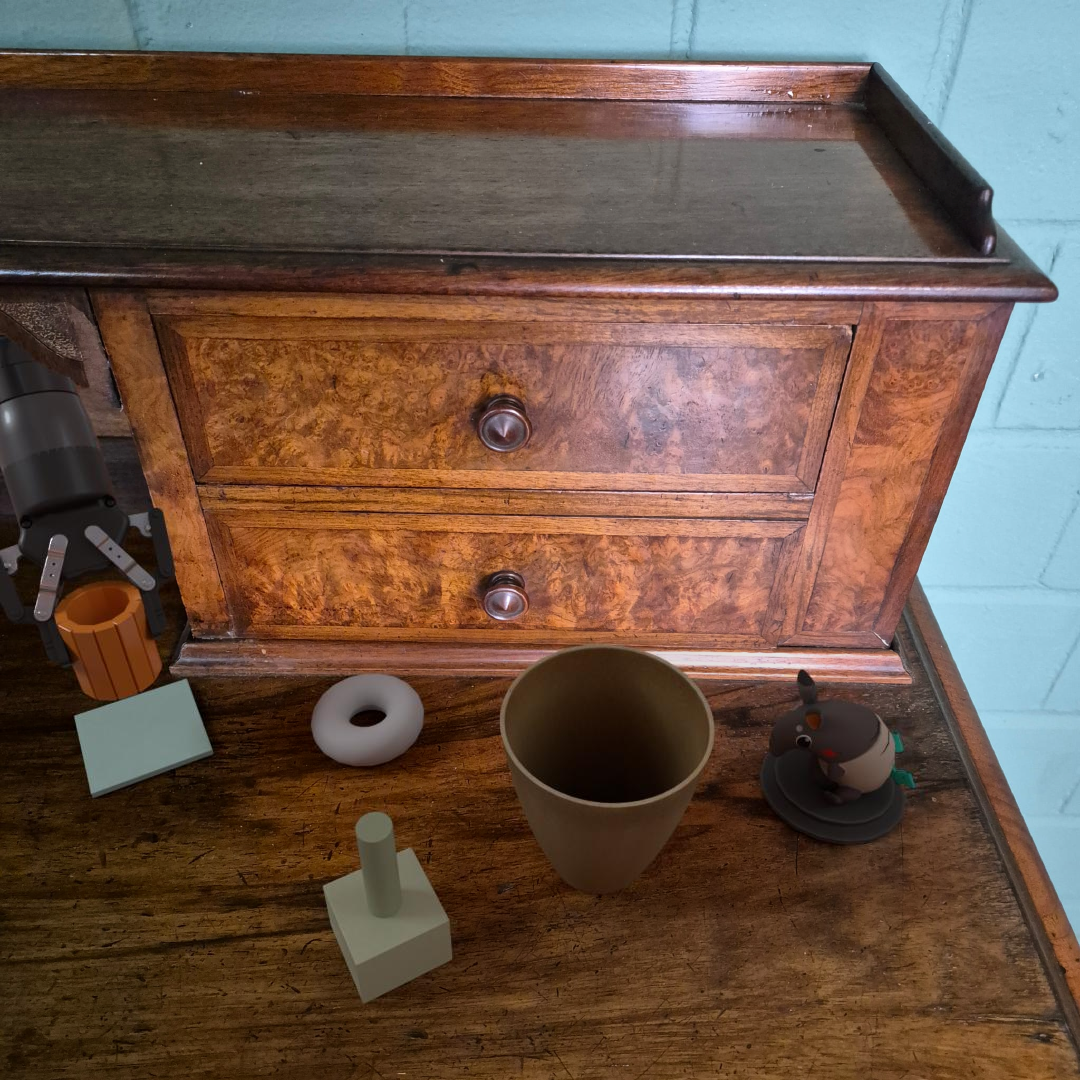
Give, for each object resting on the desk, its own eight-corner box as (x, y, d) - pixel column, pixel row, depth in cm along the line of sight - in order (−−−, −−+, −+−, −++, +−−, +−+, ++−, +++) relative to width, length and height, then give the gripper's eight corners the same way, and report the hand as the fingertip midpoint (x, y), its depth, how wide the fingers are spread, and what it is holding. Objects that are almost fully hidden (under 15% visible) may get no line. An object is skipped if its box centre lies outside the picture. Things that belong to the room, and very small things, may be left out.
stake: (363, 1004, 66) (341, 890, 58) (330, 925, 70) (306, 809, 62) (452, 959, 68) (443, 844, 60) (415, 886, 73) (402, 770, 65)
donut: (291, 734, 85) (361, 794, 80) (285, 707, 83) (356, 766, 78) (377, 677, 91) (448, 728, 86) (373, 650, 89) (446, 701, 84)
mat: (93, 798, 79) (91, 793, 79) (75, 720, 86) (74, 715, 86) (213, 754, 83) (212, 749, 83) (188, 682, 90) (186, 678, 90)
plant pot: (496, 788, 81) (493, 649, 71) (668, 775, 82) (687, 638, 72) (509, 952, 69) (507, 812, 59) (710, 935, 70) (740, 795, 61)
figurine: (918, 851, 76) (958, 752, 69) (767, 842, 77) (792, 743, 70) (885, 743, 85) (917, 647, 78) (751, 736, 86) (771, 639, 79)
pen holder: (87, 710, 77) (60, 642, 72) (75, 662, 81) (49, 594, 77) (168, 683, 79) (147, 616, 75) (153, 638, 84) (132, 571, 79)
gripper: (-57, 469, 72) (8, 679, 70) (141, 424, 77) (204, 618, 76) (-36, 493, 79) (23, 684, 77) (144, 450, 84) (202, 628, 83)
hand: (113, 650), depth 77 cm, fingers closed on pen holder, 6 cm apart
